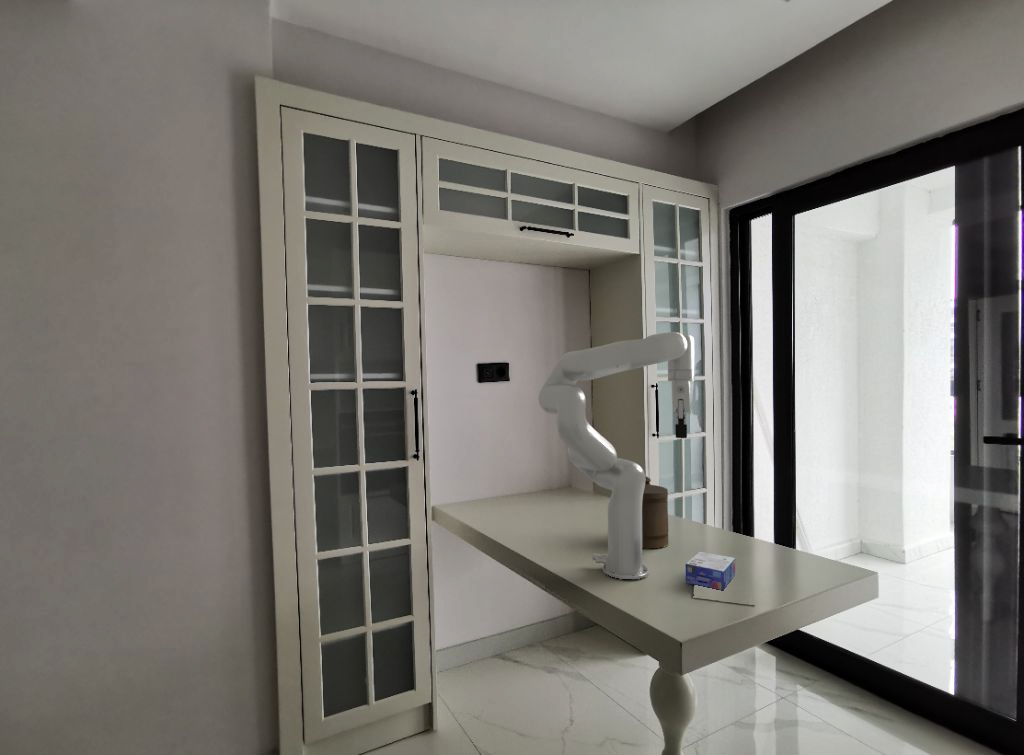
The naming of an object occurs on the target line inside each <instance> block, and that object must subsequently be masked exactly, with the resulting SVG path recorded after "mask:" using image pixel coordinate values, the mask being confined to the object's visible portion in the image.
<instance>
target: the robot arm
mask: <svg viewBox="0 0 1024 755" xmlns="http://www.w3.org/2000/svg"><path fill="white" fill-rule="evenodd" d="M666 362H667V382H671V388H672V389H671V391H672V392H671V398H672V399H671V400H672V409H673V410H672V411H673V414H674V415H676V417H675V419H676V420H675V422H676V424H675V438H676V439H686V438H688V424H687V413H688V415H691V414H692V386H691V382H695V338H694V337H693V336H692V335H690V334H681V332H677V331H671V332H663V333H657V334H655V333H654V334H650V335H648V336H646V337H645V338H639V339H626V340H619V341H615V342H612V343H611V342H610V343H608V344H603V345H600V346H599V345H598V346H595V347H590V348H585V349H581V350H580V349H579V350H573V351H568V352H566V353H565V354H563V355H562V356H561V358H560V359H559V360H558V362H557V363H556V365H555V366H554V368H553V369H552V371H551V372H550V374H549V376H548V377H547V378H546V380H545V382H544V384H543V385H542V387H541V389H540V391H539V394H538V404H539V406H540V408H541V410H542V411H544V412H546V413H547V414H551V415H556V416H557V417H556V427H557V433H558V436H559V438H560V440H561V442H562V443H564V445H565V446H566V447H567V455H568V458H569V460H570V462H571V464H572V465H574V466H575V467H576V469H578V470H579V471H580V472H581V473H582V474H584V475H585V476H586V477H588V478H589V479H590V480H591V481H592V482H593V483H595V484H596V485H597V486H599V487H601V488H603V489H606V490H610V491H612V492H611V495H610V498H609V500H608V505H607V552H606V553H604V554H600V553H593V554H592V561H595V563H596V564H602V570H601V571H602V573H603V574H604V575H606V574H607V575H606V576H608V575H609V576H608V577H610V576H611V577H610V578H612V577H615V578H614V579H616V578H619V579H618V580H622V579H638V580H641V579H640V578H642V579H644V578H643V577H645V576H646V577H648V575H649V569H648V567H647V566H645V565H644V564H643V549H642V500H643V493H644V488H645V481H646V478H645V476H646V474H645V471H644V469H643V467H641V465H639V464H638V463H637V462H634V461H632V460H629V459H624V458H620V457H618V454H617V451H616V448H615V447H614V446H613V445H612V443H611V442H610V441H608V440H607V439H606V438H605V437H604V436H602V434H601V433H599V432H598V431H597V430H596V429H595V428H594V427H593V426H591V424H590V423H589V422H588V421H587V417H586V405H587V404H586V403H587V402H586V395H585V393H584V391H583V390H582V389H581V388H580V387H579V386H577V385H576V384H577V382H578V381H590V380H592V381H593V380H595V379H599V378H602V377H607V376H610V375H614V374H618V373H622V372H626V371H632V370H635V369H640V368H643V367H647V366H651V365H657V364H661V363H666ZM646 577H645V578H646Z"/></svg>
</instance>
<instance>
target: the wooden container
mask: <svg viewBox="0 0 1024 755" xmlns="http://www.w3.org/2000/svg"><path fill="white" fill-rule="evenodd" d="M645 478H646V481H645V488H644V493H643V500H642V548H659V549H661V548H660V547H664V546H666V545H668V546H669V511H668V510H669V509H668V508H669V507H668V505H669V504H668V499H669V498H668V497H669V492H668V488H666V487H664V486H661V485H655V484H651V481H652V479H651V478H650V477H649V476H646V475H645ZM666 547H667V546H666ZM664 548H665V547H664Z"/></svg>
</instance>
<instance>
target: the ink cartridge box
mask: <svg viewBox="0 0 1024 755" xmlns="http://www.w3.org/2000/svg"><path fill="white" fill-rule="evenodd" d="M735 577H736V557H730V556H725V555H721V554H720V555H719V554H715V553H710V552H709V553H708V552H704V551H699V552H697V553H696V554H695V555H694V556H692V558H691V559H690V560H688V561H687V562H686V563H685V583H686V584H690V585H693V584H694V585H698V586H703V587H707V588H712V589H716V590H721V591H724V589H725V588H726V587H727V585H728V584H729V583H730V582H731V580H732V579H733V578H735Z"/></svg>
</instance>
